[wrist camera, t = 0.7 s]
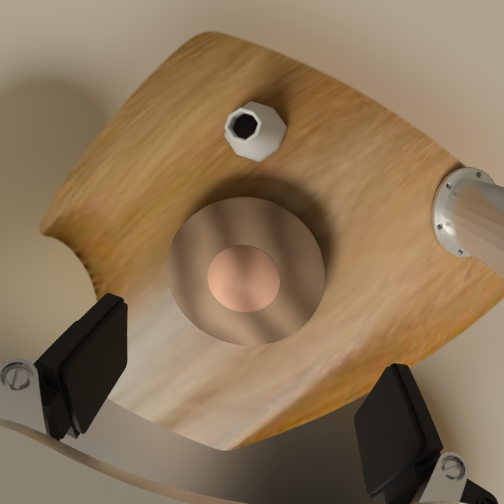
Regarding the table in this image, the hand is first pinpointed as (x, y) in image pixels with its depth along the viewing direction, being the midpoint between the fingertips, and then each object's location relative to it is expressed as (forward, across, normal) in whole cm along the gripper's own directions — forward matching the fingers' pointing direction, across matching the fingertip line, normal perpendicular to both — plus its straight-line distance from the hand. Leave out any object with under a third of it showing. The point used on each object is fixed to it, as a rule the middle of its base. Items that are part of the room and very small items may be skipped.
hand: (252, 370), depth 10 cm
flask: (+29, +4, -8) cm, 31 cm away
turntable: (+28, +1, +9) cm, 29 cm away
